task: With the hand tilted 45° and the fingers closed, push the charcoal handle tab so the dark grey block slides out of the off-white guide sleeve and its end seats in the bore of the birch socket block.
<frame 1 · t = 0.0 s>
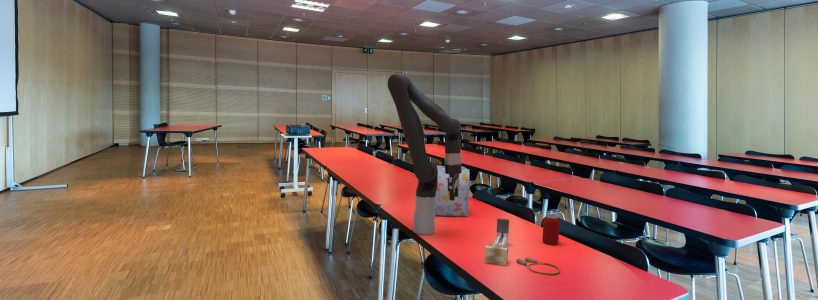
hand: (454, 198, 196), 17 cm above the table, tool pointing down, fingers open, 8 cm apart
socket block: (496, 261, 165), on the table
extension cord: (539, 269, 161), on the table
beverage can: (550, 243, 191), on the table
lunch bag: (447, 213, 239), on the table
guide sleeve: (500, 248, 182), on the table
dark grey block: (501, 234, 181), point 6 cm above the table, slide at 0.0 cm
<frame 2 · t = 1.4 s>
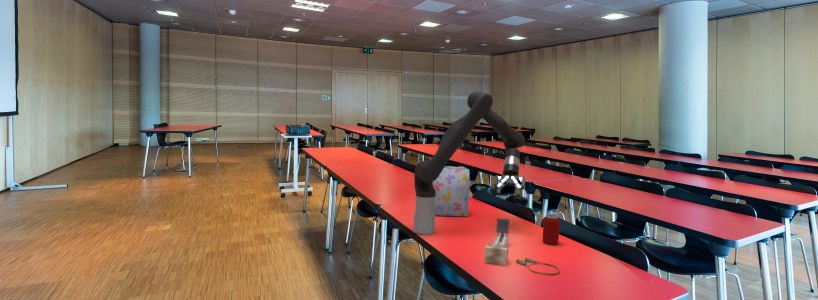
hand: (508, 195, 202), 18 cm above the table, tool tilted 45°, fingers open, 8 cm apart
nothing on the table moved.
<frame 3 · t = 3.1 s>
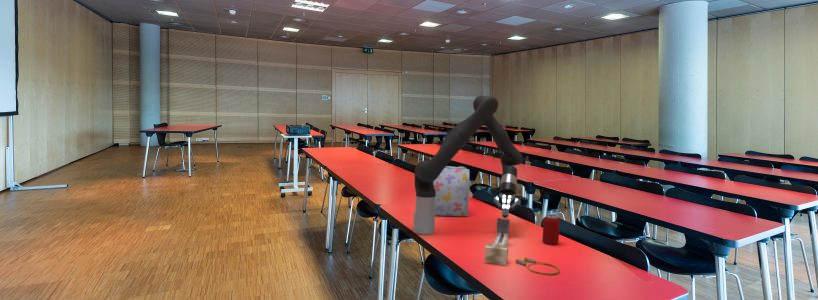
hand: (504, 217, 195), 10 cm above the table, tool tilted 45°, fingers closed
nothing on the table moved.
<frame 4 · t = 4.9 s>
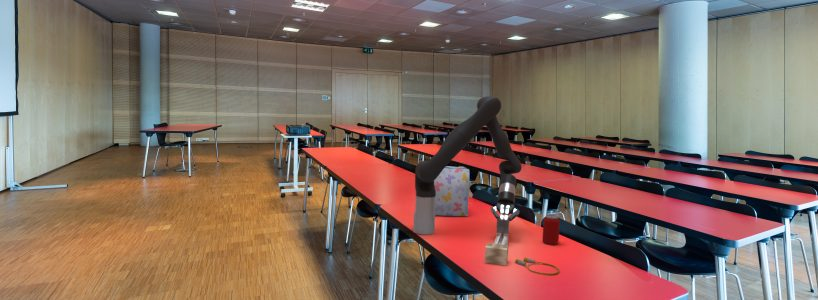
hand: (502, 228, 188), 7 cm above the table, tool tilted 45°, fingers closed
dark grey block: (501, 234, 181), point 6 cm above the table, slide at 0.4 cm, touching gripper
everything else where it was.
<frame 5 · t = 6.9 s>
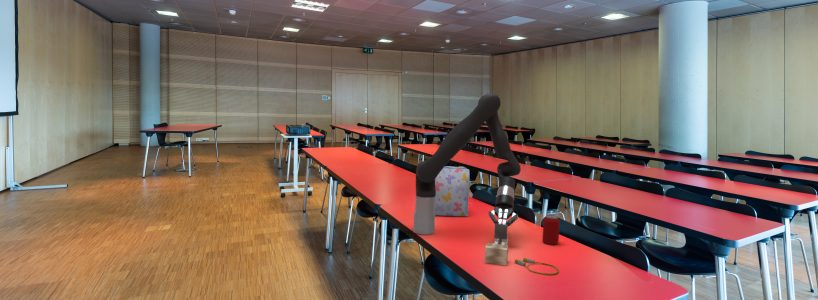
hand: (501, 233, 180), 7 cm above the table, tool tilted 45°, fingers closed
dark grey block: (499, 240, 173), point 6 cm above the table, slide at 8.7 cm, touching gripper
everything else where it was.
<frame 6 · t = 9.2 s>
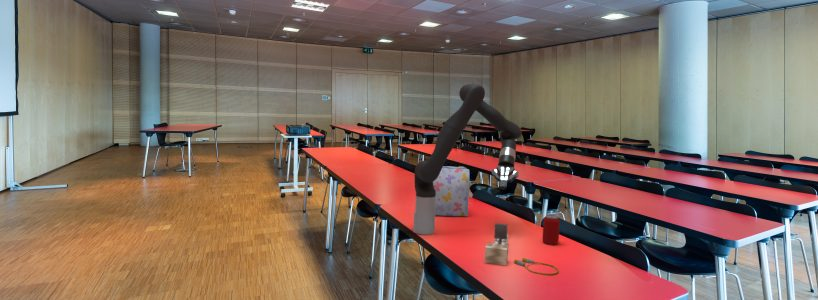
hand: (502, 188, 196), 22 cm above the table, tool tilted 45°, fingers closed
dark grey block: (499, 240, 173), point 6 cm above the table, slide at 8.7 cm
everything else where it was.
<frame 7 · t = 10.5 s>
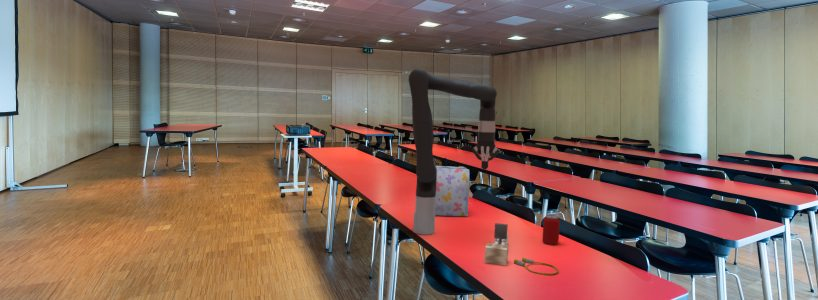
hand: (484, 169, 195), 31 cm above the table, tool pointing down, fingers closed
nothing on the table moved.
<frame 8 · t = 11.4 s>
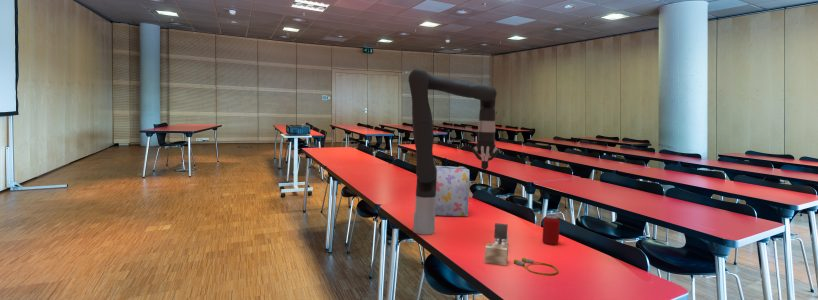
hand: (484, 169, 195), 31 cm above the table, tool pointing down, fingers closed
nothing on the table moved.
at the end: dark grey block slide at 8.7 cm; the gripper is holding nothing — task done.
